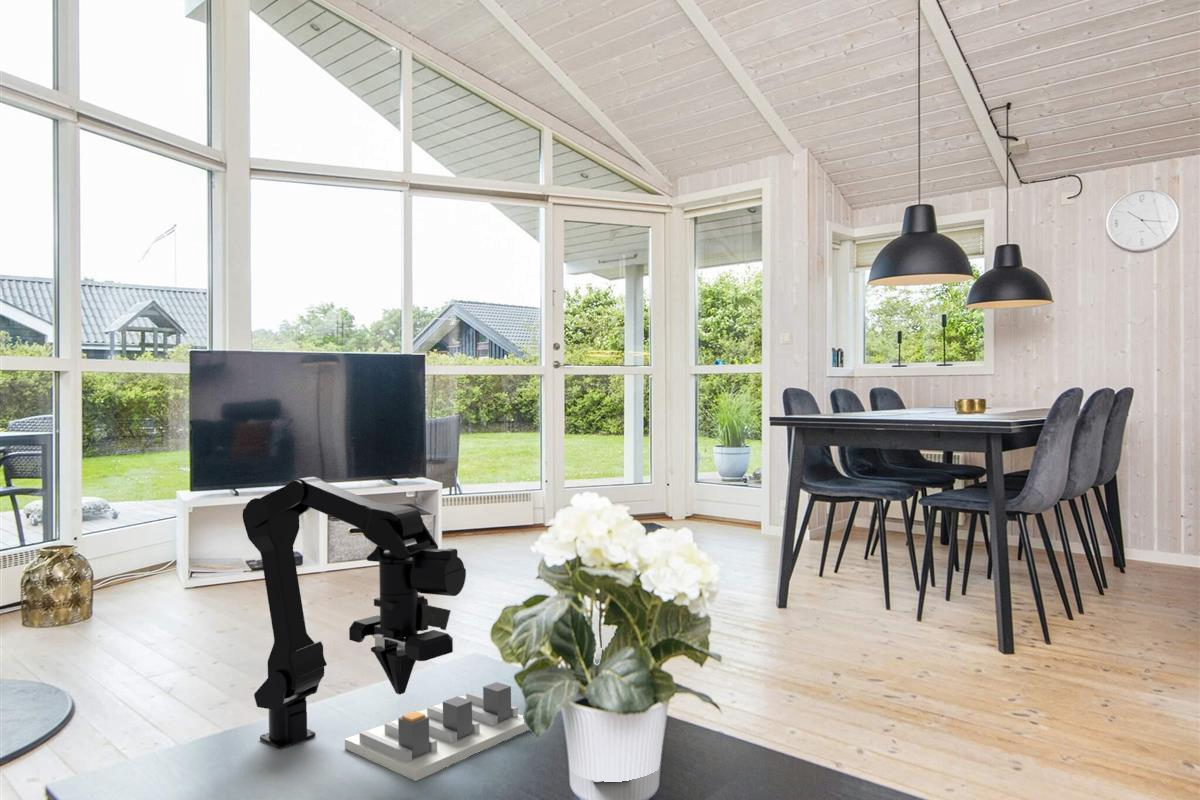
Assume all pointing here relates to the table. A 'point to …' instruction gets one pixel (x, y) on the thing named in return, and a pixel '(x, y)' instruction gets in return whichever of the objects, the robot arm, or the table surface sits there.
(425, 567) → the robot arm
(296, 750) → the table surface
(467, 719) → the block
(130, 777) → the table surface
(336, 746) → the table surface
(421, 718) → the block
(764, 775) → the table surface
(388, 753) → the breaker board
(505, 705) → the block
